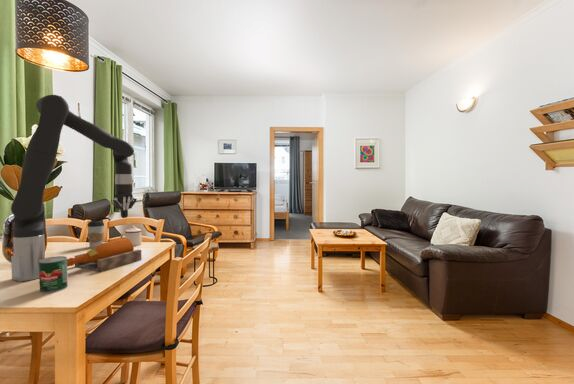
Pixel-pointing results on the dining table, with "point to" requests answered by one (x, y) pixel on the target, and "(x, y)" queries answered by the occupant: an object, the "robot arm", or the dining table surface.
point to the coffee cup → (95, 233)
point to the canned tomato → (53, 274)
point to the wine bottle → (103, 251)
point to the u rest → (111, 261)
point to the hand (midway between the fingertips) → (124, 217)
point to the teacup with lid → (133, 236)
